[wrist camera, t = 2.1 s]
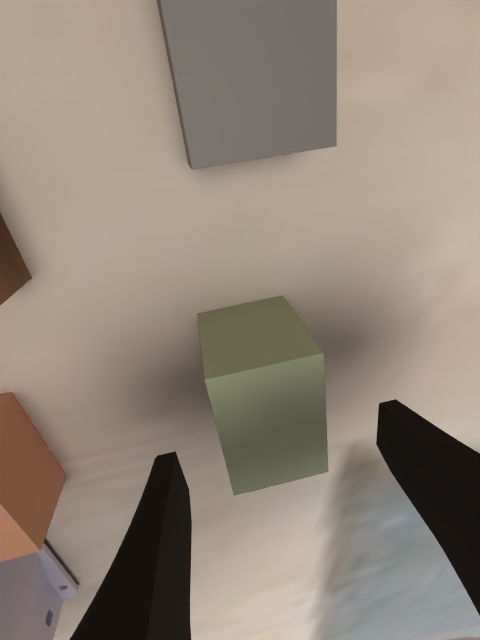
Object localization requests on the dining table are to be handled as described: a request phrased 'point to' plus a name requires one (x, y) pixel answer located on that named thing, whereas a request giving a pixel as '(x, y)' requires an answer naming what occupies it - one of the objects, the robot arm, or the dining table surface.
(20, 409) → the terracotta brick
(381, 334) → the dining table surface
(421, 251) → the dining table surface
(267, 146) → the charcoal brick
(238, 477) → the sage brick
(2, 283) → the walnut block
